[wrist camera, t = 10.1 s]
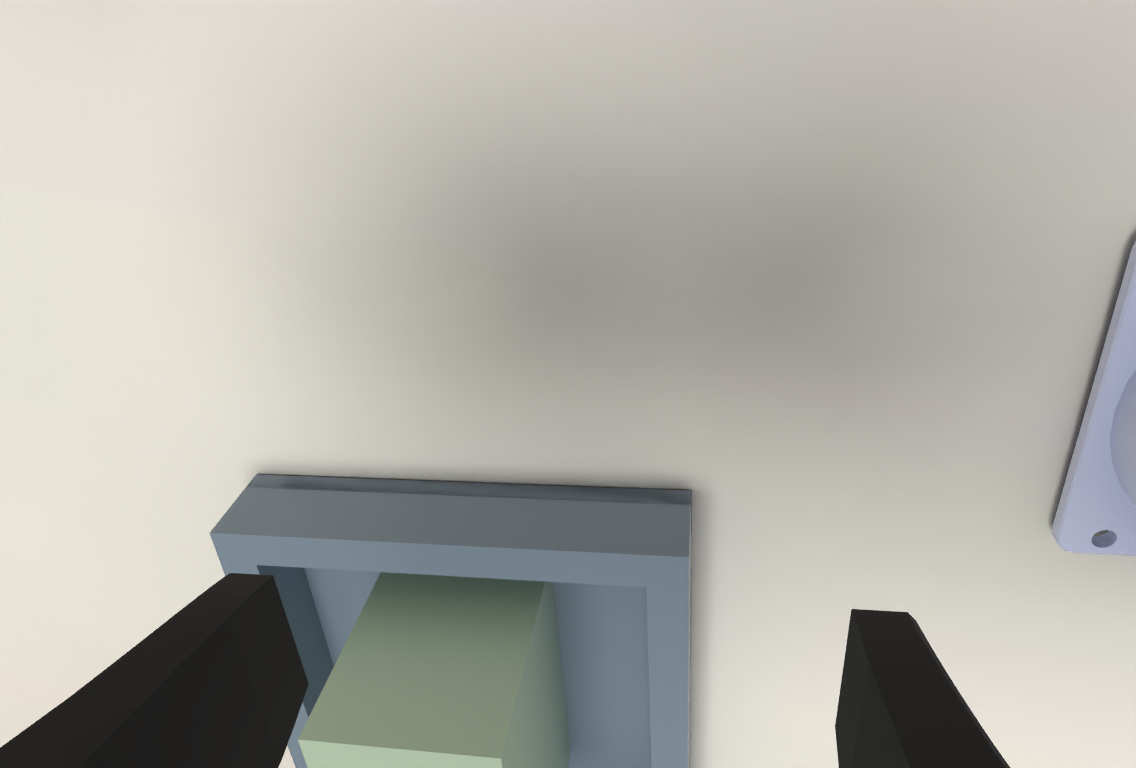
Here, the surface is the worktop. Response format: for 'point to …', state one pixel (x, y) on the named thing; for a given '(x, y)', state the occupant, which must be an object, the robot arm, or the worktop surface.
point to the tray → (500, 551)
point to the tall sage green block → (445, 679)
